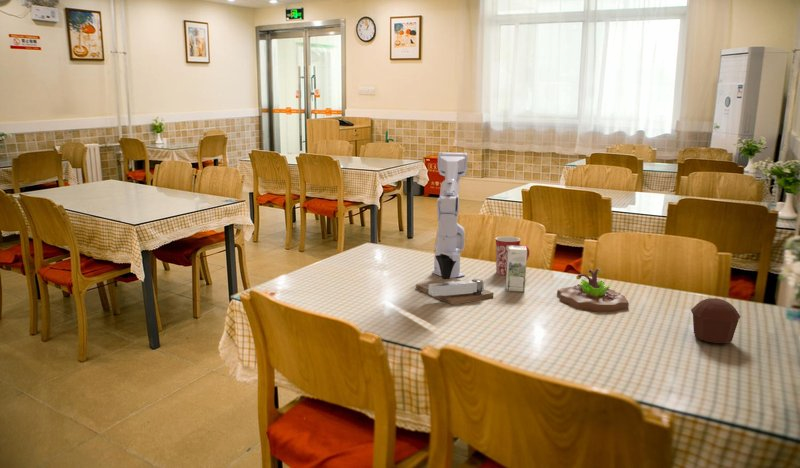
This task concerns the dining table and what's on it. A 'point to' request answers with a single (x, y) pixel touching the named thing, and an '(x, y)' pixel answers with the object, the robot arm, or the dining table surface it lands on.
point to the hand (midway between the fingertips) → (445, 278)
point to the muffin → (715, 320)
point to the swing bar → (456, 287)
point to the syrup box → (516, 268)
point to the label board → (456, 298)
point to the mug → (505, 252)
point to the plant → (593, 295)
